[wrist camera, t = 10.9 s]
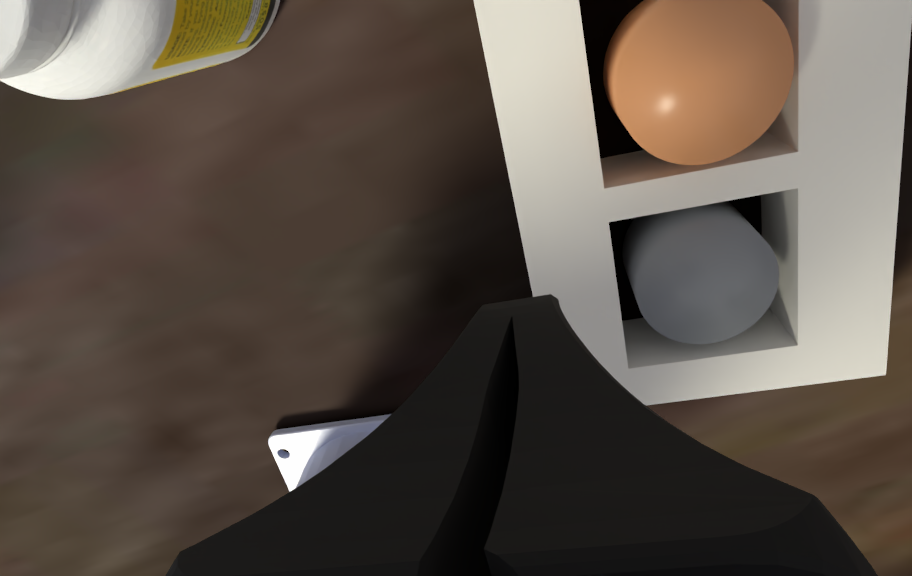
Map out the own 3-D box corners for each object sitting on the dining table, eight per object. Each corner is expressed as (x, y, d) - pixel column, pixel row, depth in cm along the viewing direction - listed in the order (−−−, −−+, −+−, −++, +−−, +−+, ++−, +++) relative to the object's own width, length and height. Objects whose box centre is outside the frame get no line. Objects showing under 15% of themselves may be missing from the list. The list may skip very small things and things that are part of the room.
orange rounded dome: (755, 122, 18) (794, 147, 15) (612, 151, 18) (626, 179, 16) (751, -31, 16) (794, -33, 14) (594, 7, 17) (607, 12, 14)
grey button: (749, 291, 21) (779, 333, 19) (629, 309, 22) (642, 353, 19) (745, 179, 20) (778, 208, 17) (615, 203, 20) (628, 235, 18)
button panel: (840, 325, 22) (886, 374, 19) (552, 366, 23) (556, 416, 21) (868, -477, 13) (956, -591, 11) (418, -318, 15) (396, -381, 12)
